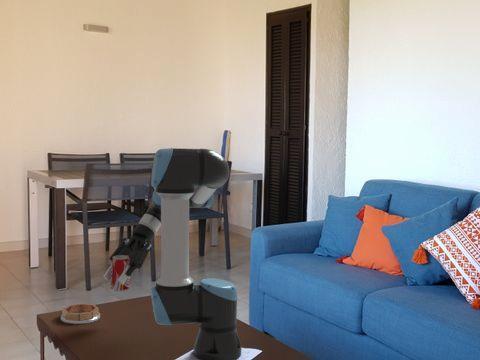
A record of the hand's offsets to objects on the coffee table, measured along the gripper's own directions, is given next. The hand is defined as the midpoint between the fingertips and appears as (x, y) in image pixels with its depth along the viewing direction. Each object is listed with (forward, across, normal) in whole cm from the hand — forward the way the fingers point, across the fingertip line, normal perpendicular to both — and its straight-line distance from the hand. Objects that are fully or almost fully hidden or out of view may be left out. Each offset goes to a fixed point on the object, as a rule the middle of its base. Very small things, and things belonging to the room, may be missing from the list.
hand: (113, 280), depth 211 cm
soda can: (+1, 0, -6) cm, 6 cm away
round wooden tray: (+13, +16, -10) cm, 23 cm away
